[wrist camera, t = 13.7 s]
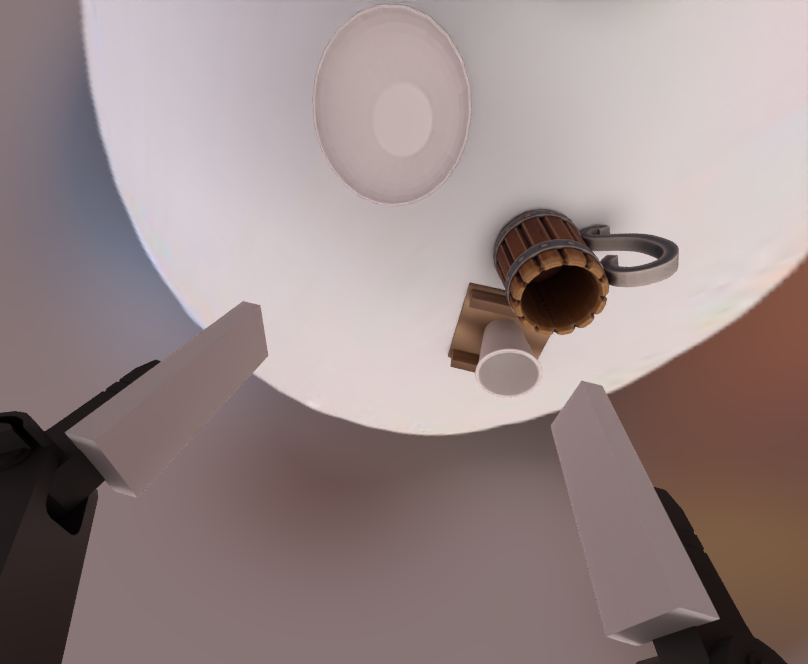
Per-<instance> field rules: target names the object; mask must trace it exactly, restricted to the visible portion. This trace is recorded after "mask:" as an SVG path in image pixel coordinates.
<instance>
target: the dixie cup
mask: <svg viewBox="0 0 808 664" xmlns="http://www.w3.org/2000/svg"><path fill="white" fill-rule="evenodd" d="M475 375H476V380H477V382H478V384H479V385H480V386H481V387H482V388H483V389H484V390H485V391H487V392H488V393H490V394H493V395H496V396H500V397H517V396H521V395H524V394H526V393H528V392H530V391H532V390H533V389H534V388H535V387H536V386H537V385H538V384H539V382H540V380H541V378H542V367H541V365H540V363H539V361H538V360H537V359H536V358H535V356H534V354H533V352H532V350H531V348H530V346H529V344H528V342H527V340H526V338H525V336H524V334H523V332H522V330H521V328H520V326H519V325H518V324H517V323H516V322H515V321H513V320H511V319H507V318H500V319H496V320H493V321H491V322H490V323H489V324H488V325H487V326H486V327H485V330H484V334H483V340H482V346H481V351H480V357H479V363H478V365H477V367H476V371H475Z"/></svg>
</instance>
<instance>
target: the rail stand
mask: <svg viewBox="0 0 808 664" xmlns="http://www.w3.org/2000/svg"><path fill="white" fill-rule="evenodd" d="M500 318H507V319H511V320H513V321H515V322H516V323H517V324H518V325H519V326H520V328H521V330H522V332H523V334H524V336H525V338H526V340H527V342H528V344H529V346H530V348H531V350H532V352H533V354H534V356H535V358H536V359H538V358H539V356H540V354H541V352H542V350H543V348H544V346H545V345H546V343H547V341H548V339H549V337H550V335H544V334H540V333H538V332H536V331H535V329H529V328H527V327H526V326H524V325H523V324H522V323H521V322H520V321H519V318H518V316H516V314H515V313H514V312H513V311H512V309H511V306H510V304H509V302H508V299H507V297H506V291H505V290H501V289H496V288H491V287H487V286H482V285H478V284H473V283H470V285H469V288H468V291H467V295H466V298H465V301H464V304H463V308H462V311H461V314H460V318H459V321H458V324H457V328H456V331H455V334H454V338H453V341H452V344H451V348H450V351H449V354H448V357H450V358H451V367H454V368H458V369H463V370H467V371H471V372H475V371H476V367H477V365H478V363H479V357H480V351H481V346H482V340H483V334H484V330H485V327H486V326H487V325H488V324H489V323H490V322H491V321H493V320H496V319H500Z"/></svg>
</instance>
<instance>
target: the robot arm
mask: <svg viewBox="0 0 808 664" xmlns="http://www.w3.org/2000/svg"><path fill="white" fill-rule="evenodd" d="M267 357H268V351H267V345H266V338H265V332H264V326H263V319H262V313H261V307H260V305H257V304H253V303H248V302H244V301H243V302H241V303H240V304H239V305H237V306H236V307H235V308H233V309H232V310H231V311H229V312H228V313H226V314H225V315H224V316H222V317H221V318H220V319H218V320H217V321H216V322H214V323H213V324H211V325H210V326H209V327H207V328H206V329H205V330H203V331H202V332H201V333H199V334H198V335H197V336H195V337H194V338H193V339H191V340H190V341H188V342H187V343H186V344H184V345H183V346H182V347H181V348H179V349H178V350H176V351H175V352H173V353H172V354H171V355H169V356H168V357H167V358H165V359H164V360H163V361H158V360H154V361H151V362H149V363H147V364H144V365H142V366H140V367H137V368H135V369H134V370H132V371H131V372H130V373H128V374H127V375H125V376H124V377H123V378H121V379H120V381H119V382H115V383H114V384H112V385H111V386H110V387H108V388H107V389H106V391H105V392H101V393H100V394H98V395H97V396H95V397H94V398H92V399H91V400H90V401H88V402H87V403H85V404H84V405H82V406H81V407H80V408H78V409H77V410H75V411H74V412H72V413H71V414H70V415H68V416H67V417H65V418H64V419H63V420H61V421H60V422H58V423H57V424H55V425H54V426H53V427H51V428H50V429H48V430H46V431H43V430H42V429H41V428H40V427H39V426H38V424H37V423H36V422H35V421H34V420H33V419H32V418H31V417H30V416H29V415H28V414H27V413H24V412H17V411H12V412H4V413H0V664H61V663H62V659H63V654H64V650H65V645H66V641H67V636H68V632H69V627H70V622H71V618H72V613H73V609H74V604H75V600H76V595H77V591H78V586H79V581H80V577H81V573H82V568H83V563H84V559H85V554H86V549H87V545H88V541H89V536H90V532H91V527H92V523H93V518H94V514H95V509H96V505H97V500H98V491H97V489H96V488H97V487H98V486H99V485H100V484H101V483H103V481H106V482H107V483H108V484H109V486H110V487H111V488H112V489H113V490H114V491H116V492H120V493H123V494H126V495H130V496H133V497H137V498H138V497H139V496H140V495H141V494H142V493H143V492H144V490H145V489H147V487H148V486H149V485H150V484H151V483H152V482H153V481H154V480H155V479H156V478H157V477H158V475H159V474H160V473H161V472H162V471H163V470H164V469H165V468H166V467H167V466H168V464H169V463H170V462H171V461H172V460H173V459H174V458H175V457H176V456H177V455H178V454H179V452H180V451H181V450H182V449H183V448H184V447H185V446H186V444H188V443H189V442H190V441H191V439H192V438H193V437H194V436H195V435H196V434H197V433H198V432H199V430H201V429H202V427H203V426H204V425H205V424H206V423H207V422H208V421H209V420H210V419H211V418H212V417H213V415H214V414H215V413H216V412H217V411H218V410H219V409H220V408H221V407H222V406H223V404H224V403H225V402H226V401H227V400H228V399H229V398H230V397H231V396H232V395H233V394H234V392H235V391H236V390H237V389H238V388H239V387H240V386H241V385H242V384H243V383H244V381H246V379H247V378H248V377H249V376H250V375H251V374H252V373H253V372H254V371H255V370H256V369H257V367H258V366H259V365H260V364H261V363H262V362H263V361H264V360H265V359H266V358H267ZM551 429H552V433H553V436H554V440H555V443H556V448H557V451H558V455H559V459H560V463H561V467H562V471H563V475H564V478H565V482H566V486H567V490H568V494H569V497H570V501H571V505H572V508H573V513H574V516H575V520H576V524H577V528H578V532H579V536H580V539H581V543H582V547H583V550H584V555H585V558H586V562H587V566H588V570H589V574H590V577H591V581H592V585H593V589H594V593H595V596H596V600H597V604H598V608H599V612H600V615H601V619H602V623H603V627H604V631H605V635H606V637H609V638H612V639H615V640H619V641H622V642H626V643H629V644H632V645H636V646H639V645H642V644H645V643H648V642H651V641H653V643H654V646H655V649H656V652H657V654H658V656H656V657H653V658H649V659H645V660H642V661H638V662H637V663H636V664H787V663H786V662H785V661H784V660H783V659H782V658H781V657H780V656H779V655H778V654H777V653H776V652H775V651H774V650H772V649H771V648H770V647H768V646H767V645H765V644H764V643H763V642H761V641H760V640H759V639H756V638H754V636H753V635H752V633H751V632H750V630H749V628H748V627H747V626H746V624H745V622H744V620H743V618H742V617H741V615H740V613H739V611H738V610H737V608H736V606H735V604H734V602H733V600H732V599H731V597H730V595H729V593H728V591H727V590H726V588H725V586H724V584H723V582H722V581H721V579H720V577H719V575H718V573H717V571H716V570H715V568H714V566H713V564H712V562H711V561H710V559H709V557H708V555H707V554H706V553H704V551H703V549H704V548H703V546H702V545H701V542H700V541H699V539H698V537H697V535H695V534H694V530H693V528H692V526H691V524H690V522H689V521H688V519H687V517H686V515H685V514H684V512H683V510H682V509H681V507H680V506H679V505H678V504H677V503H676V502H675V500H674V499H673V498H672V497H671V496H670V495H669V494H668V492H667V491H665V490H663V489H660V488H656V487H653V485H652V484H651V482H650V480H649V477H648V475H647V473H646V471H645V470H644V468H643V466H642V464H641V462H640V460H639V458H638V456H637V454H636V452H635V450H634V448H633V446H632V444H631V442H630V440H629V438H628V436H627V434H626V432H625V430H624V428H623V426H622V424H621V422H620V420H619V418H618V416H617V414H616V412H615V410H614V408H613V406H612V405H611V402H610V400H609V398H608V396H607V394H606V392H605V390H604V388H603V386H601V385H597V384H593V383H589V382H584V381H581V382H580V384H579V385H578V387H577V388H576V390H575V391H574V393H573V394H572V396H571V397H570V398H569V400H568V401H567V403H566V404H565V406H564V407H563V409H562V410H561V412H560V413H559V414H558V416H557V417H556V419H555V420H554V422H553V423H552V425H551Z"/></svg>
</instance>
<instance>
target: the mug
mask: <svg viewBox="0 0 808 664" xmlns="http://www.w3.org/2000/svg"><path fill="white" fill-rule="evenodd" d="M592 251H635V252H641V253H644V254H647V255H650V256H653V257H655V258H657V259H658V260H656V261H654V262H651V263H648V264H645V265H640V266H635V267H619V266H618V255H607V256H605V257H604V258H603V259H602V260H601V262H600V261H599V260H598V258H597V257H596V256H595V254H594V253H593V252H592ZM678 255H679V248H678V246H677V245H676V244H675V243H674V242H672V241H670V240H667V239H664V238H661V237H658V236H654V235H648V234H610V229H609V226H607V225H599V226H594V227H591V228H588V229H586V230H584V231H582V232H581V233H580V232H579V230H578V229H577V227H576V226H575V225H574V223H573V222H572V221H571V220H570V219H569V218H567V217H566V216H564V215H563V214H561V213H557V212H554V211H550V210H538V211H531V212H527V213H524V214H522V215H520V216H518V218H516V219H515V220H512V221H511V222H510V223H509V224H508V225H507V226H506V227H505V228H504V229H503V230H502V233H501V234H500V236H499V237H498V239H497V242H496V244H495V249H494V256H493V257H494V264H495V268H496V270H497V273H498V275H499V277H500V279H501V280H502V282H503V284H504V287H505V291H506V297H507V299H508V302H509V304H510V306H511V309H512V311H513V312H514V313H515V314H516V316H518V318H519V321H520V322H521V323H522V324H523V325H524V326H526V327H527V328H529V329H535V331H536V332H538V333H540V334H544V335H551V334H553V332H556V333H557V334H560V335H565V334H569V333H572V332H573V331H574V329H575V326H576V327H579V328H584V327H586V326H587V325H589V324H590V323H591V322H592V321H593V319H594V314H599V313H601V312H602V310H603V309H604V307H605V305H606V301H607V298H606V297H605V296H606V295H607V294H608V292H609V285H612V286H618V287H637V286H643V285H648V284H652V283H656V282H659V281H662V280H664V279H667V278H668V277H670V276H672V275H673V274H674V273H675V272H676V271H677V269H678Z"/></svg>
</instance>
